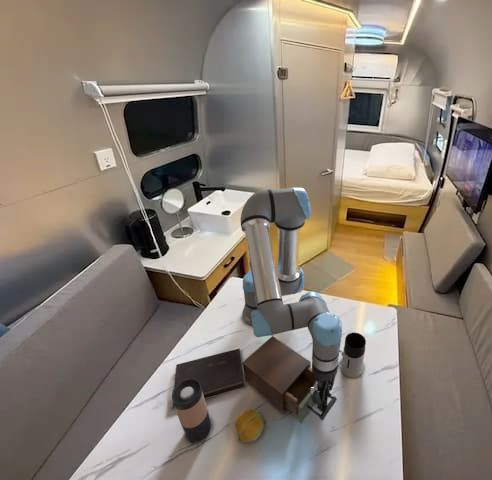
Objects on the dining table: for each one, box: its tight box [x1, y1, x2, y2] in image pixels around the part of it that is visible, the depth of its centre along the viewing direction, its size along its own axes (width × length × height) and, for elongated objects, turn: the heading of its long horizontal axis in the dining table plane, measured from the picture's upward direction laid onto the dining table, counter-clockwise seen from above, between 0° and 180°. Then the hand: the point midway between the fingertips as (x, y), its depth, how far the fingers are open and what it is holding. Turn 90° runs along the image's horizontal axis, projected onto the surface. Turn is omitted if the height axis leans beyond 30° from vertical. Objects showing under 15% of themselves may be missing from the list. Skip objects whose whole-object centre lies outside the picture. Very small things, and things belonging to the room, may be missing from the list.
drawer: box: [284, 367, 338, 424], centre depth 93 cm, size 24×14×8 cm, turn 54°
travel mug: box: [171, 379, 212, 443], centre depth 81 cm, size 8×8×20 cm
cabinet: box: [241, 335, 312, 413], centre depth 99 cm, size 19×15×10 cm
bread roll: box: [234, 408, 265, 443], centre depth 86 cm, size 8×9×4 cm
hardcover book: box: [172, 348, 246, 409], centre depth 100 cm, size 16×23×2 cm
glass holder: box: [338, 332, 367, 378], centre depth 102 cm, size 9×14×15 cm, turn 121°
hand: (321, 408), depth 89 cm, fingers closed
